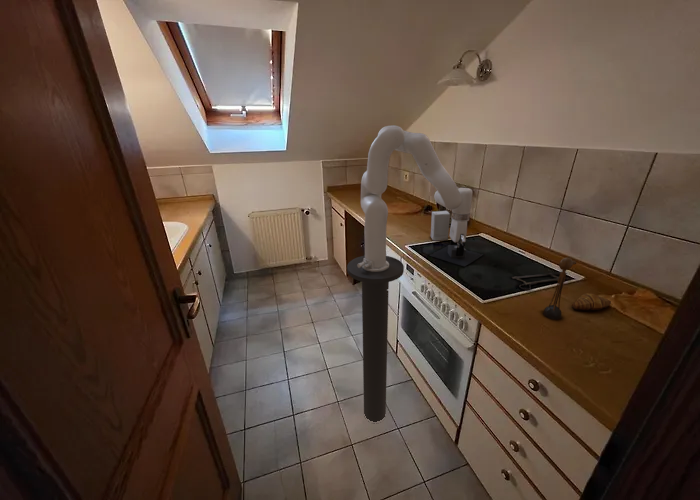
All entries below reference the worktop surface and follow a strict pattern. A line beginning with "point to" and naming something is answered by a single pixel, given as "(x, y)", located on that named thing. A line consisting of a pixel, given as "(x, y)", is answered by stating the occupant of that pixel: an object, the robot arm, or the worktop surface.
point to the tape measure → (453, 251)
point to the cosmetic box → (440, 225)
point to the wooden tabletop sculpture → (558, 290)
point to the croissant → (590, 302)
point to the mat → (462, 262)
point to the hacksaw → (538, 281)
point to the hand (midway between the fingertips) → (456, 251)
